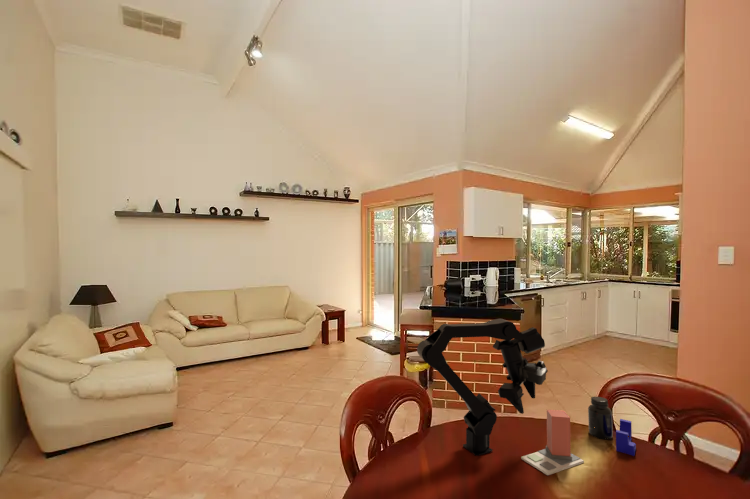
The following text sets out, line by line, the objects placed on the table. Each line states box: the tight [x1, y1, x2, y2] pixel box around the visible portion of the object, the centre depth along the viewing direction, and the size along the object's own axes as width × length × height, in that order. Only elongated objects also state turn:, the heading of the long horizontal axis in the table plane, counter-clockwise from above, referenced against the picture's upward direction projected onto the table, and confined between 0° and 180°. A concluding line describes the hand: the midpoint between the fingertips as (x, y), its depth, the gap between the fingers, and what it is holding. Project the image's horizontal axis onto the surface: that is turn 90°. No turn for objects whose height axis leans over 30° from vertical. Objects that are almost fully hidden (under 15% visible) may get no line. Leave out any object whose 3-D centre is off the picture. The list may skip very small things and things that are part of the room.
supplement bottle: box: [587, 396, 614, 440], centre depth 120 cm, size 7×7×12 cm
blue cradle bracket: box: [615, 418, 637, 457], centre depth 113 cm, size 12×4×6 cm, turn 140°
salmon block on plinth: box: [545, 409, 572, 461], centre depth 106 cm, size 6×6×12 cm
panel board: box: [520, 448, 585, 476], centre depth 104 cm, size 15×9×1 cm, turn 115°
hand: (527, 405), depth 113 cm, fingers open, 9 cm apart
